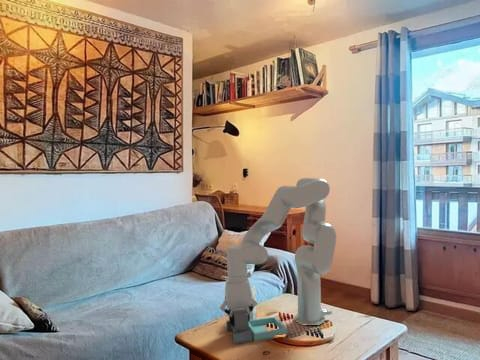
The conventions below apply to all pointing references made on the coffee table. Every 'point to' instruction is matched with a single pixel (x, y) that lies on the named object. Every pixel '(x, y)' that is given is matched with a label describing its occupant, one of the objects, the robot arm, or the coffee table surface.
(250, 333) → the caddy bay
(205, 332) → the coffee table surface
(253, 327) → the tray
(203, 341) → the coffee table surface
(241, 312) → the grey upright block
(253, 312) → the ink cartridge box
